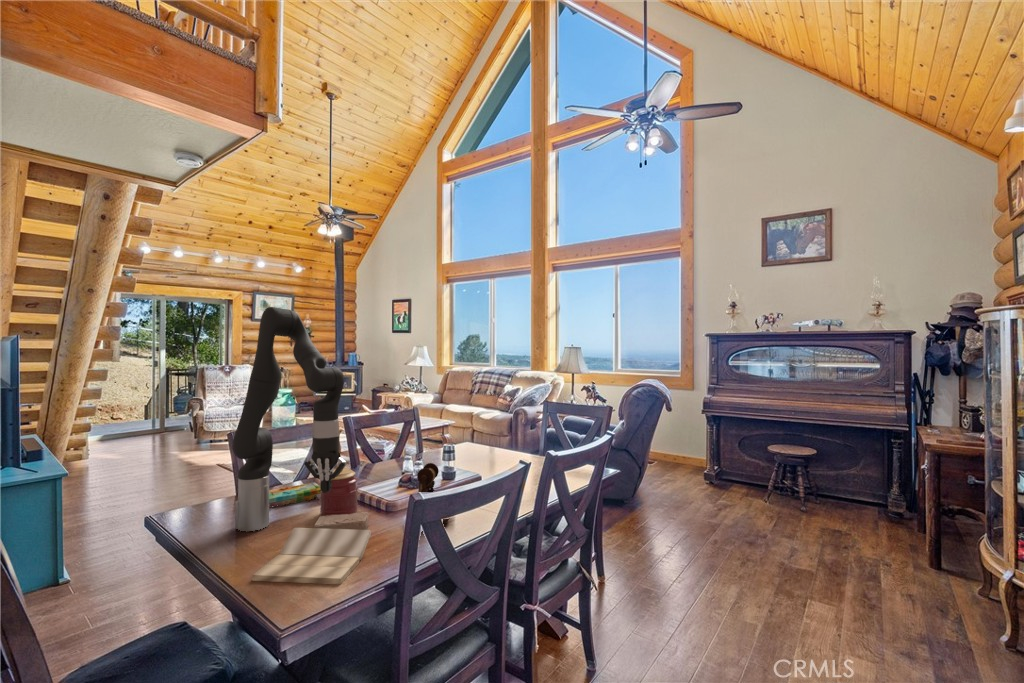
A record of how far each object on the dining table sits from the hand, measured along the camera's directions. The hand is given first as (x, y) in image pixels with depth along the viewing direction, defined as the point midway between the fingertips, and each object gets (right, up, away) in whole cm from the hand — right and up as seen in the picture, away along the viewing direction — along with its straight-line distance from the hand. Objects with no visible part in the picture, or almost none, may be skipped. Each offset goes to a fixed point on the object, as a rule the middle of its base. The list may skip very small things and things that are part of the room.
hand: (326, 492), depth 141 cm
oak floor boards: (0, -18, -13) cm, 22 cm away
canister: (-8, -18, +31) cm, 37 cm away
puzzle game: (-31, -18, +46) cm, 59 cm away
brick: (-1, -18, +15) cm, 24 cm away
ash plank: (+1, -15, -2) cm, 15 cm away
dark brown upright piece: (+27, -18, +21) cm, 39 cm away
